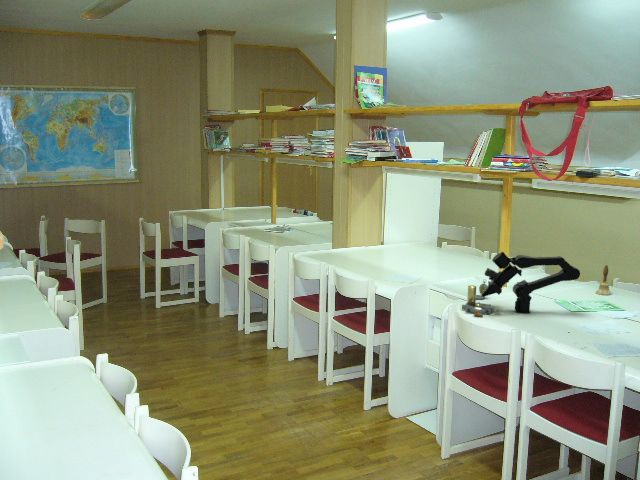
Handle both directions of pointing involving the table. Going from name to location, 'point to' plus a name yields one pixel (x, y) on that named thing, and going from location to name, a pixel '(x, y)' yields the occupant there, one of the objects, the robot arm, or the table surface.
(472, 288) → the sprocket
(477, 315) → the pointer
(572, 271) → the robot arm
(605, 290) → the hand bell
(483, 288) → the pocket watch
